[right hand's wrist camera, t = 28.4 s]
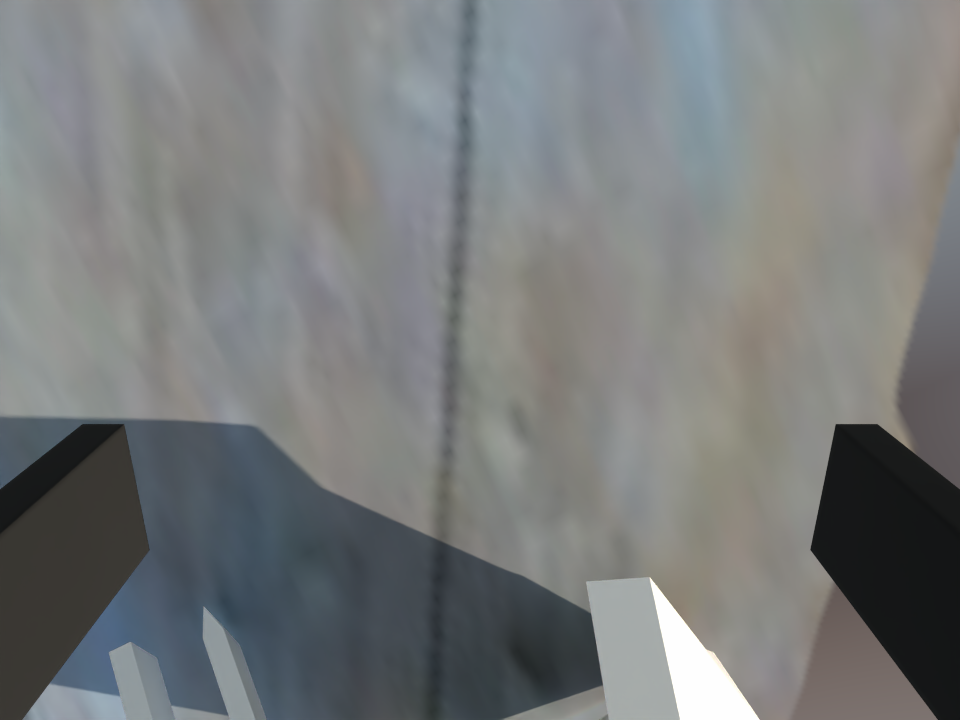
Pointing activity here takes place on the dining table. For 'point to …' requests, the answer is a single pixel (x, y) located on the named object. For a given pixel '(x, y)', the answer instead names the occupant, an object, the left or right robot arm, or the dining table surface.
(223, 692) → the white plastic object
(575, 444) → the dining table surface
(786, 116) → the dining table surface
